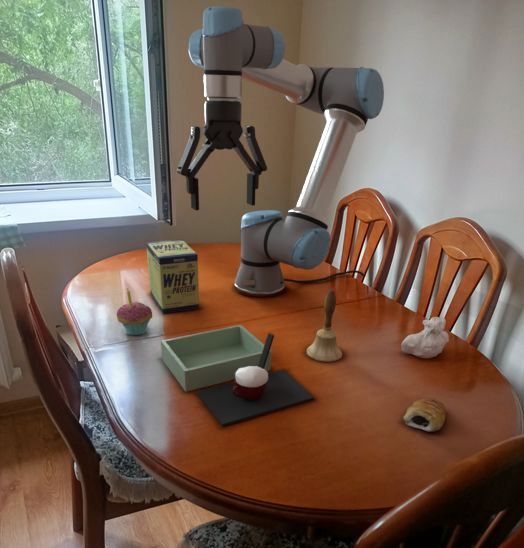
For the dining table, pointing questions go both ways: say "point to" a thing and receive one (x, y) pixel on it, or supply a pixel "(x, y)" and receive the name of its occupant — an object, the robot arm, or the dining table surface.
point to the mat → (275, 397)
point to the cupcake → (134, 316)
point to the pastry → (426, 415)
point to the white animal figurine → (427, 339)
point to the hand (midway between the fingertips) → (223, 206)
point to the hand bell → (326, 335)
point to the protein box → (173, 275)
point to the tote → (212, 356)
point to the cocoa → (253, 376)
